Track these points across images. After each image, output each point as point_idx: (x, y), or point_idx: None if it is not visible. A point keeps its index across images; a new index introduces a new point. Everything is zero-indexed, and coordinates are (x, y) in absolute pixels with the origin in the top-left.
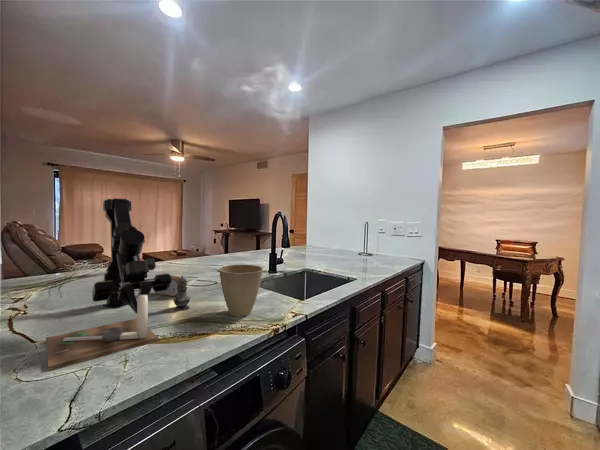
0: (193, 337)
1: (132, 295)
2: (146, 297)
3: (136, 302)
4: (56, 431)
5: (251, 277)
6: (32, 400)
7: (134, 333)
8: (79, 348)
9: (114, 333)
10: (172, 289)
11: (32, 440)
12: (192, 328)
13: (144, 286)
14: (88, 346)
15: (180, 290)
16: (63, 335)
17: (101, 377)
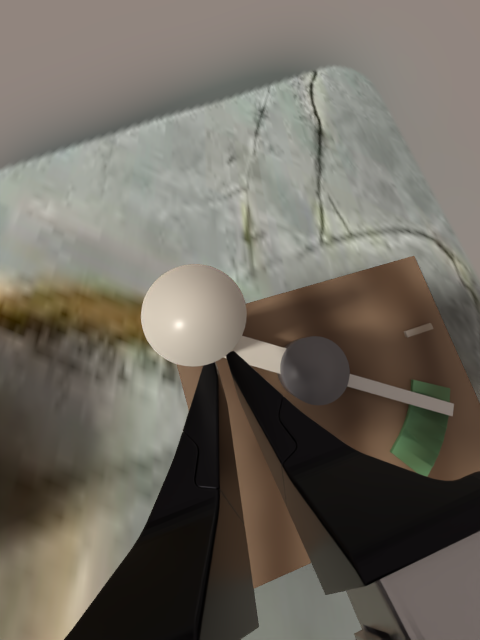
0: (53, 307)
1: (301, 450)
2: (159, 284)
3: (250, 396)
4: (317, 70)
5: None
6: (384, 162)
7: (240, 347)
8: (380, 335)
9: (306, 338)
10: None
11: (341, 68)
12: (35, 393)
13: (151, 616)
14: (361, 339)
15: None
16: (466, 473)
17: (289, 186)
